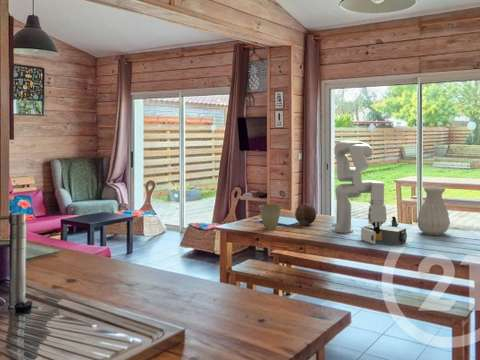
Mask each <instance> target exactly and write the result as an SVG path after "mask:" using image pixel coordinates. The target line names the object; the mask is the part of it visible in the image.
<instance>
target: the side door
mask: <svg viewBox="0 0 480 360" xmlns="http://www.w3.org/2000/svg"><path fill="white" fill-rule="evenodd" d="M363 227H364V226H361V227H360V240H362V241H364V242H367V243H370V244H373V245H376V242H375V236H376V232H375V231H372V230H369V229H366V228H363Z"/></svg>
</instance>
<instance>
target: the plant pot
mask: <svg viewBox="0 0 480 360" xmlns="http://www.w3.org/2000/svg"><path fill="white" fill-rule="evenodd" d="M258 207H259V212H260V213H259V214H260V216H261V217H260V218H261V222H262V225H263V227H264V230H266V229H267V230H266V231H274V229H275V230H276V229H277V227H278V223H279V220H280V217H281V210H282V205H280V204H261V205H259V206H258Z"/></svg>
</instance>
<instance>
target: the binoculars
mask: <svg viewBox="0 0 480 360" xmlns="http://www.w3.org/2000/svg"><path fill="white" fill-rule="evenodd" d="M390 226H391V227H398V226H399V223H398V221H397V218H396V216H392V217H391V224H390Z"/></svg>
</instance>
